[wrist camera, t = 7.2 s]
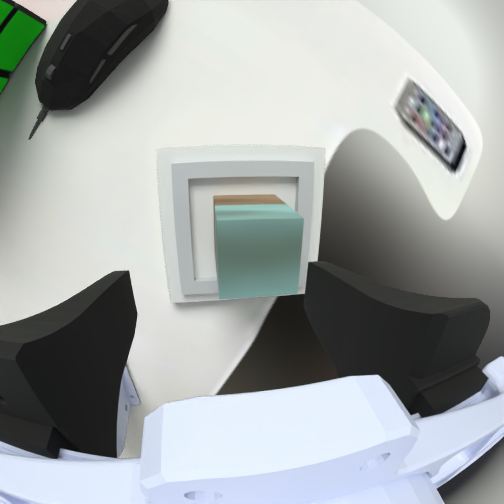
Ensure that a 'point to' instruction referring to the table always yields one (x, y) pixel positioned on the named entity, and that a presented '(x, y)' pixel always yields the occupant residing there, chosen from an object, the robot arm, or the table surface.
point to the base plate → (230, 183)
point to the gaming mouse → (91, 48)
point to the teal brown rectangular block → (256, 246)
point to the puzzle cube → (15, 36)
